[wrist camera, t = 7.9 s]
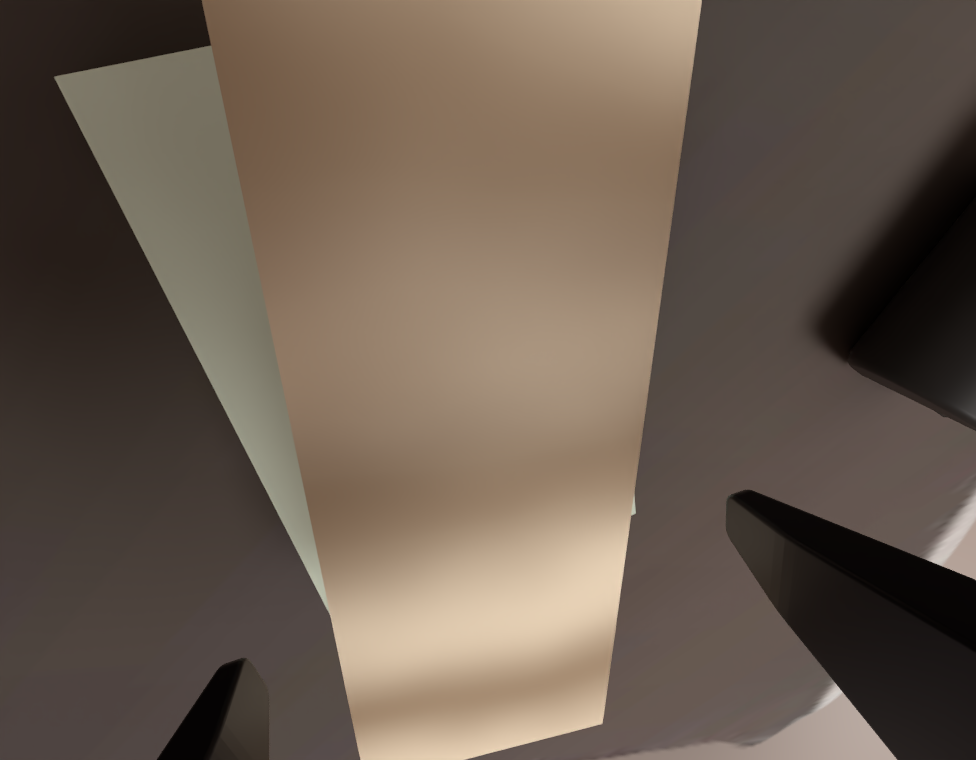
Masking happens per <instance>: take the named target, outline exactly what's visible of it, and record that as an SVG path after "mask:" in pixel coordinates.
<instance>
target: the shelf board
mask: <svg viewBox="0 0 976 760" xmlns="http://www.w3.org/2000/svg"><path fill="white" fill-rule="evenodd" d="M701 3H702V0H202V4H203V9H204V13H205V18H206V23H207V28H208V33H209V37H210V42H211V47H212V52H213V56H214V61H215V66H216V71H217V76H218V80H219V85H220V90H221V95H222V99H223V104H224V109H225V114H226V119H227V123H228V128H229V133H230V138H231V143H232V147H233V152H234V157H235V162H236V166H237V171H238V176H239V181H240V186H241V190H242V195H243V200H244V205H245V209H246V214H247V219H248V224H249V229H250V233H251V238H252V243H253V248H254V253H255V257H256V262H257V267H258V272H259V276H260V281H261V286H262V291H263V296H264V300H265V305H266V310H267V315H268V320H269V324H270V329H271V334H272V339H273V343H274V348H275V353H276V358H277V363H278V367H279V372H280V377H281V382H282V386H283V391H284V396H285V401H286V406H287V410H288V415H289V420H290V425H291V430H292V434H293V439H294V444H295V449H296V453H297V458H298V463H299V468H300V473H301V477H302V482H303V487H304V492H305V496H306V501H307V506H308V511H309V516H310V520H311V525H312V530H313V535H314V540H315V544H316V549H317V554H318V559H319V563H320V568H321V573H322V578H323V583H324V587H325V592H326V597H327V602H328V607H329V611H330V616H331V621H332V626H333V630H334V635H335V640H336V645H337V650H338V654H339V659H340V664H341V669H342V673H343V678H344V683H345V688H346V693H347V697H348V702H349V707H350V712H351V717H352V721H353V726H354V731H355V736H356V740H357V745H358V750H359V755H360V760H465V759H469V758H472V757H476V756H480V755H484V754H488V753H492V752H496V751H499V750H503V749H507V748H511V747H515V746H519V745H523V744H526V743H530V742H534V741H538V740H542V739H546V738H549V737H553V736H557V735H561V734H565V733H569V732H573V731H576V730H580V729H584V728H588V727H592V726H596V725H600V724H602V723H603V716H604V709H605V701H606V694H607V687H608V679H609V672H610V665H611V658H612V650H613V643H614V636H615V629H616V621H617V614H618V607H619V599H620V592H621V585H622V578H623V570H624V563H625V556H626V549H627V541H628V534H629V527H630V519H631V512H632V505H633V498H634V490H635V483H636V476H637V469H638V461H639V454H640V447H641V440H642V432H643V425H644V418H645V410H646V403H647V396H648V389H649V381H650V374H651V367H652V360H653V352H654V345H655V338H656V330H657V323H658V316H659V309H660V301H661V294H662V287H663V280H664V272H665V265H666V258H667V251H668V243H669V236H670V229H671V221H672V214H673V207H674V200H675V192H676V185H677V178H678V171H679V163H680V156H681V149H682V141H683V134H684V127H685V120H686V112H687V105H688V98H689V91H690V83H691V76H692V69H693V61H694V54H695V47H696V40H697V32H698V25H699V18H700V11H701Z"/></svg>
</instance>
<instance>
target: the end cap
mask: <svg viewBox="0 0 976 760" xmlns="http://www.w3.org/2000/svg"><path fill="white" fill-rule="evenodd" d="M849 355H850V356H849V357H848V363H849V365H850V366H851V367H852V368H853V369H854V370H856V371H857V372H859V373H860V374H861V375H863V376H865V377H867V378H869V379H871V380H873V381H875V382H877V383H879V384H881V385H883V386H885V387H887V388H889V389H892V390H894V391H896V392H898V393H900V394H902V395H904V396H906V397H908V398H910V399H912V400H914V401H916V402H918V403H920V404H922V405H924V406H926V407H928V408H930V409H932V410H934V411H935V412H937V413H938V414H940V415H941V416H943V417H948V418H951V419H953V420H955V421H957V422H959V423H961V424H963V425H965V426H967V427H969V428H971V429H973V430H975V431H976V197H975V198H974V199H973V200H972V202H971V203H970V204H969V205H968V206H967V208H966V209H965V210H964V211H963V213H962V214H961V215H960V216H959V218H958V219H957V220H956V221H955V222H954V224H953V225H952V226H951V227H950V229H949V230H948V231H947V232H946V233H945V235H944V236H943V237H942V238H941V240H940V241H939V242H938V243H937V245H936V246H935V247H934V248H933V249H932V251H931V252H930V253H929V254H928V256H927V257H926V258H925V259H924V261H923V262H922V263H921V264H920V265H919V267H918V268H917V269H916V270H915V272H914V273H913V274H912V275H911V277H910V278H909V279H908V280H907V281H906V283H905V284H904V285H903V286H902V288H901V289H900V290H899V291H898V293H897V294H896V295H895V296H894V297H893V299H892V300H891V301H890V302H889V304H888V305H887V306H886V307H885V309H884V310H883V311H882V312H881V313H880V315H879V316H878V317H877V318H876V320H875V321H874V322H873V323H872V325H871V326H870V327H869V328H868V329H867V331H866V332H865V333H864V334H863V336H862V337H861V338H860V339H859V341H858V342H857V343H856V344H855V345H854V347H853V348H852V349H851V350H850V353H849Z"/></svg>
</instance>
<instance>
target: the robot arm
mask: <svg viewBox="0 0 976 760" xmlns="http://www.w3.org/2000/svg"><path fill="white" fill-rule="evenodd" d="M726 531H727V534H728V536H729V538H730V540H731V542H732V543H733V545H734V546H735V548H736V549H737V551H738V552H739V554H740V555H741V557H742V558H743V560H744V561H745V563H746V564H747V566H748V567H749V569H750V570H751V572H752V573H753V575H754V577H755V578H756V580H757V581H758V583H759V584H760V586H761V587H762V589H763V590H764V592H765V593H766V595H767V596H768V598H769V599H770V601H771V602H772V604H773V605H774V606H775V608H776V609H777V611H778V612H779V613H780V615H781V616H782V617H783V619H784V620H785V621H786V622H787V624H788V625H789V626H790V627H791V629H792V630H793V631H794V632H795V634H796V635H797V636H798V637H799V639H800V640H801V641H802V642H803V643H804V645H805V646H806V647H807V648H808V650H809V651H810V652H811V653H812V655H813V656H814V657H815V658H816V660H817V661H818V662H819V663H820V665H821V666H822V667H823V668H824V669H825V671H826V672H827V673H828V674H829V676H830V677H831V678H832V679H833V681H834V682H835V683H836V684H837V686H838V687H839V688H840V689H841V690H842V692H843V693H844V694H845V695H846V697H847V698H848V699H849V700H850V701H851V703H852V704H853V705H854V707H855V708H856V709H857V710H858V712H859V713H860V714H861V715H862V716H863V718H864V719H865V720H866V721H867V723H868V724H869V725H870V726H871V728H872V729H873V730H874V731H875V733H876V734H877V735H878V736H879V737H880V739H881V740H882V741H883V742H884V744H885V745H886V746H887V747H888V749H889V750H890V751H891V752H892V754H893V755H894V756H895V757H896V759H897V760H976V580H975V579H972V578H970V577H967V576H965V575H962V574H960V573H957V572H955V571H952V570H950V569H947V568H945V567H942V566H940V565H937V564H935V563H932V562H930V561H927V560H925V559H922V558H920V557H917V556H915V555H912V554H910V553H907V552H905V551H902V550H900V549H897V548H895V547H892V546H890V545H887V544H885V543H882V542H880V541H877V540H875V539H872V538H870V537H867V536H865V535H862V534H860V533H857V532H855V531H852V530H850V529H847V528H845V527H842V526H840V525H837V524H835V523H832V522H830V521H827V520H825V519H822V518H820V517H817V516H815V515H812V514H810V513H807V512H805V511H802V510H800V509H797V508H795V507H792V506H790V505H787V504H785V503H782V502H780V501H777V500H775V499H772V498H770V497H767V496H765V495H762V494H760V493H757V492H755V491H752V490H743V491H740V492H737V493H734V494H731V495H729V496H728V498H727V501H726ZM157 760H269V693H268V689H267V686H266V684H265V682H264V681H263V679H262V678H261V676H260V675H259V673H258V672H257V670H256V669H255V667H254V666H253V664H252V663H251V661H250V660H249V659H247V658H241V659H238V660H235V661H232V662H229V663H226V664H224V665H222V666H221V667H220V668H219V669H218V670H217V671H216V673H215V674H214V676H213V677H212V679H211V680H210V682H209V683H208V684H207V686H206V687H205V689H204V690H203V692H202V693H201V695H200V696H199V698H198V699H197V701H196V702H195V704H194V705H193V707H192V708H191V710H190V711H189V713H188V714H187V716H186V717H185V719H184V720H183V721H182V723H181V724H180V726H179V727H178V729H177V730H176V732H175V733H174V735H173V736H172V738H171V739H170V741H169V742H168V744H167V745H166V747H165V748H164V750H163V751H162V753H161V754H160V756H159V757H158V758H157Z"/></svg>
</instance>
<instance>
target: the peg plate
mask: <svg viewBox="0 0 976 760" xmlns="http://www.w3.org/2000/svg"><path fill="white" fill-rule="evenodd" d="M54 78H55V80H56V82H57V84H58V86H59V88H60V90H61V92H62V94H63V96H64V98H65V100H66V102H67V104H68V106H69V107H70V109H71V111H72V113H73V115H74V117H75V119H76V121H77V123H78V125H79V127H80V129H81V131H82V133H83V135H84V137H85V139H86V141H87V143H88V144H89V146H90V148H91V150H92V152H93V154H94V156H95V158H96V160H97V162H98V164H99V166H100V168H101V170H102V172H103V174H104V176H105V178H106V180H107V181H108V183H109V185H110V187H111V189H112V191H113V193H114V195H115V197H116V199H117V201H118V203H119V205H120V207H121V209H122V211H123V213H124V215H125V217H126V218H127V220H128V222H129V224H130V226H131V228H132V230H133V232H134V234H135V236H136V238H137V240H138V242H139V244H140V246H141V248H142V250H143V252H144V254H145V256H146V257H147V259H148V261H149V263H150V265H151V267H152V269H153V271H154V273H155V275H156V277H157V279H158V281H159V283H160V285H161V287H162V289H163V291H164V293H165V294H166V296H167V298H168V300H169V302H170V304H171V306H172V308H173V310H174V312H175V314H176V316H177V318H178V320H179V322H180V324H181V326H182V328H183V330H184V331H185V333H186V335H187V337H188V339H189V341H190V343H191V345H192V347H193V349H194V351H195V353H196V355H197V357H198V359H199V361H200V363H201V365H202V367H203V369H204V370H205V372H206V374H207V376H208V378H209V380H210V382H211V384H212V386H213V388H214V390H215V392H216V394H217V396H218V398H219V400H220V402H221V404H222V406H223V407H224V409H225V411H226V413H227V415H228V417H229V419H230V421H231V423H232V425H233V427H234V429H235V431H236V433H237V435H238V437H239V439H240V441H241V443H242V444H243V446H244V448H245V450H246V452H247V454H248V456H249V458H250V460H251V462H252V464H253V466H254V468H255V470H256V472H257V474H258V476H259V478H260V480H261V481H262V483H263V485H264V487H265V489H266V491H267V493H268V495H269V497H270V499H271V501H272V503H273V505H274V507H275V509H276V511H277V513H278V515H279V517H280V519H281V520H282V522H283V524H284V526H285V528H286V530H287V532H288V534H289V536H290V538H291V540H292V542H293V544H294V546H295V548H296V550H297V552H298V554H299V556H300V557H301V559H302V561H303V563H304V565H305V567H306V569H307V571H308V573H309V575H310V577H311V579H312V581H313V583H314V585H315V587H316V589H317V591H318V593H319V594H320V596H321V598H322V600H323V602H324V604H325V606H326V608H327V610H328V612H329V614H330V611H329V607H328V602H327V597H326V592H325V587H324V583H323V578H322V573H321V568H320V563H319V559H318V554H317V549H316V544H315V540H314V535H313V530H312V525H311V520H310V516H309V511H308V506H307V501H306V496H305V492H304V487H303V482H302V477H301V473H300V468H299V463H298V458H297V453H296V449H295V444H294V439H293V434H292V430H291V425H290V420H289V415H288V410H287V406H286V401H285V396H284V391H283V386H282V382H281V377H280V372H279V367H278V363H277V358H276V353H275V348H274V343H273V339H272V334H271V329H270V324H269V320H268V315H267V310H266V305H265V300H264V296H263V291H262V286H261V281H260V276H259V272H258V267H257V262H256V257H255V253H254V248H253V243H252V238H251V233H250V229H249V224H248V219H247V214H246V209H245V205H244V200H243V195H242V190H241V186H240V181H239V176H238V171H237V166H236V162H235V157H234V152H233V147H232V143H231V138H230V133H229V128H228V123H227V119H226V114H225V109H224V104H223V99H222V95H221V90H220V85H219V80H218V76H217V71H216V66H215V61H214V56H213V52H212V47H211V46H206V47H201V48H196V49H191V50H186V51H181V52H176V53H171V54H166V55H161V56H156V57H151V58H146V59H141V60H136V61H131V62H126V63H121V64H116V65H111V66H106V67H101V68H96V69H91V70H86V71H81V72H75V73H70V74H65V75H60V76H55V77H54ZM633 514H636V511H635V498H633V505H632V512H631V515H633Z"/></svg>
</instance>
